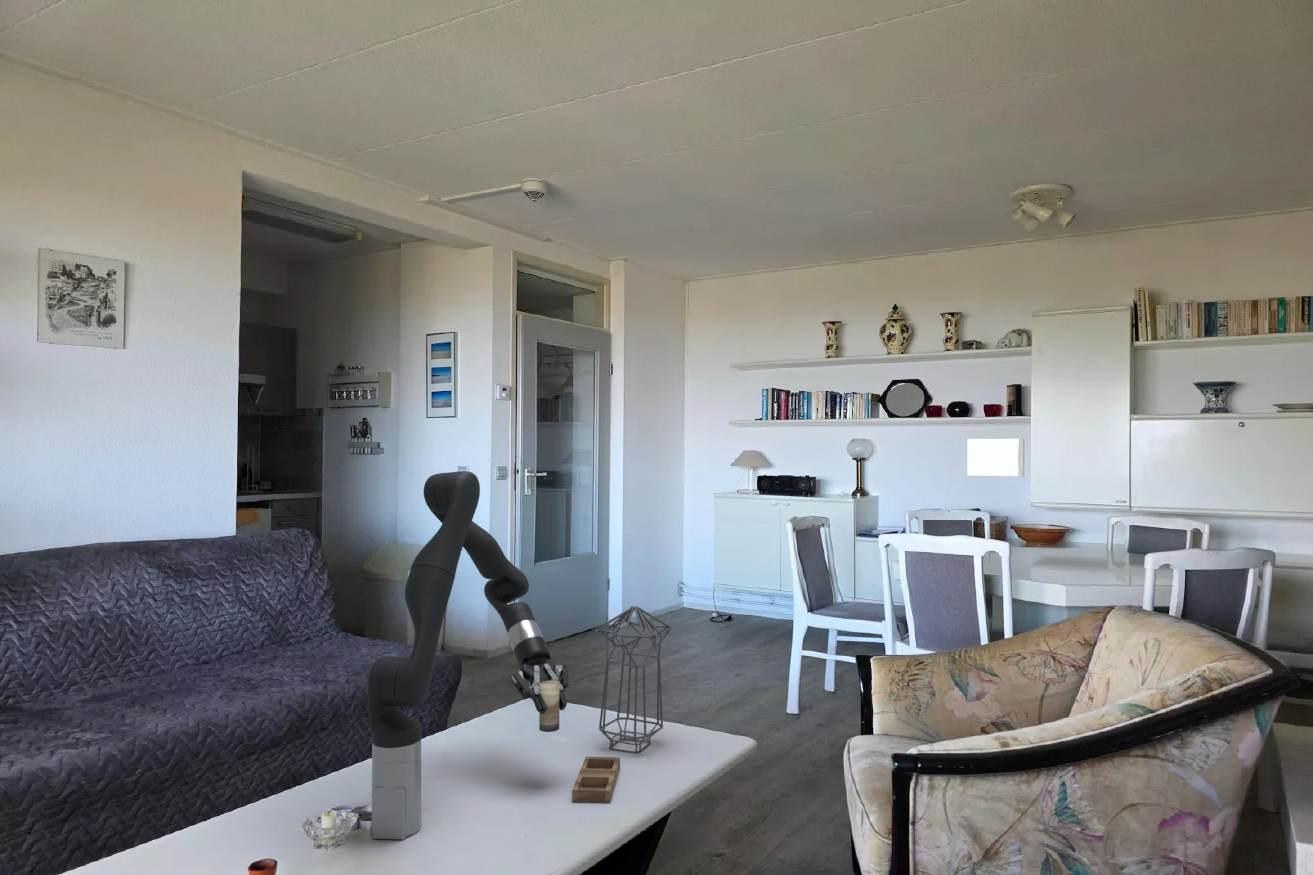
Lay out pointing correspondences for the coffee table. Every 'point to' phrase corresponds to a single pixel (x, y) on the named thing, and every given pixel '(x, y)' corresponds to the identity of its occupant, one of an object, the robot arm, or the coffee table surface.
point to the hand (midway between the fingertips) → (553, 709)
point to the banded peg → (549, 706)
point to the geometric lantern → (621, 619)
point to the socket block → (596, 780)
